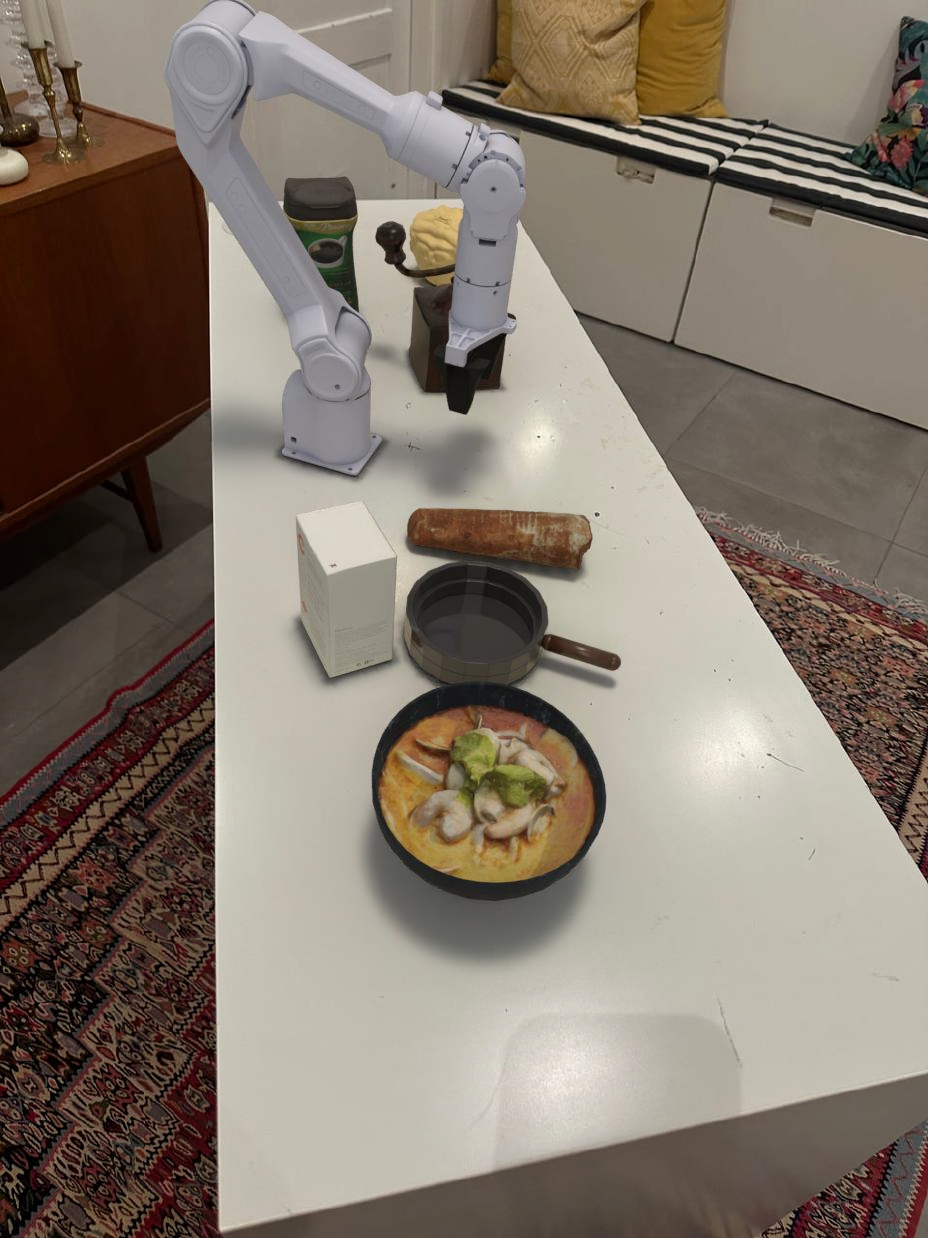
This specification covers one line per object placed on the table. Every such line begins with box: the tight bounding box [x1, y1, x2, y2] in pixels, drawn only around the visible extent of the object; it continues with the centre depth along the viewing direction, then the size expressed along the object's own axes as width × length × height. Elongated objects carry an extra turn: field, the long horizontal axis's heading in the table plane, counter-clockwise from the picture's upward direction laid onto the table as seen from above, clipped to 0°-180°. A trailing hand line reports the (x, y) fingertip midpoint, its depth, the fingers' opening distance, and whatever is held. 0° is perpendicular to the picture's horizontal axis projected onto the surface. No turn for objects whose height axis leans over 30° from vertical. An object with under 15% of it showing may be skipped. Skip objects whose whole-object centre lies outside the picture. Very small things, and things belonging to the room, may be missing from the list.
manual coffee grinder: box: [374, 220, 507, 393], centre depth 110 cm, size 16×11×18 cm
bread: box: [406, 507, 593, 570], centre depth 90 cm, size 6×19×6 cm, turn 83°
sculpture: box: [409, 204, 463, 287], centre depth 131 cm, size 12×12×11 cm
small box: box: [295, 500, 398, 678], centre depth 77 cm, size 8×6×13 cm
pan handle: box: [542, 633, 622, 672], centre depth 80 cm, size 8×2×2 cm, turn 71°
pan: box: [403, 560, 549, 685], centre depth 82 cm, size 13×13×4 cm
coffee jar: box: [282, 175, 360, 313], centre depth 116 cm, size 10×8×19 cm
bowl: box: [371, 681, 607, 902], centre depth 65 cm, size 17×17×10 cm
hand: (469, 393), depth 96 cm, fingers open, 7 cm apart
